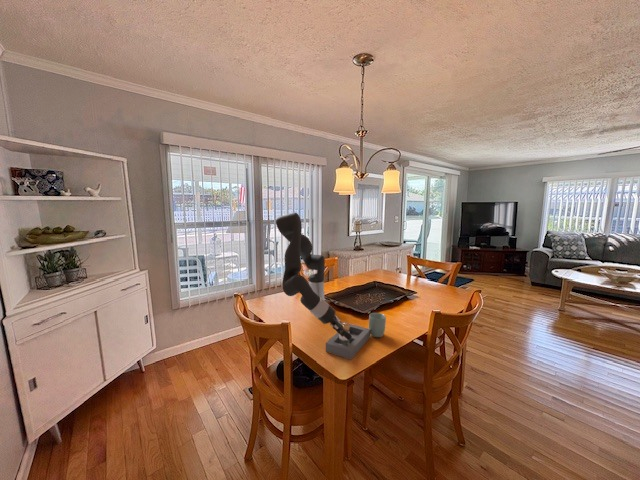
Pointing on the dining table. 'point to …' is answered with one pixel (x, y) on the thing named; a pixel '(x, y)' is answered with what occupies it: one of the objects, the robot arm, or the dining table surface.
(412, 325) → the dining table surface
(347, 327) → the glass bottle
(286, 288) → the robot arm
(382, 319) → the cup
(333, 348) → the rack
